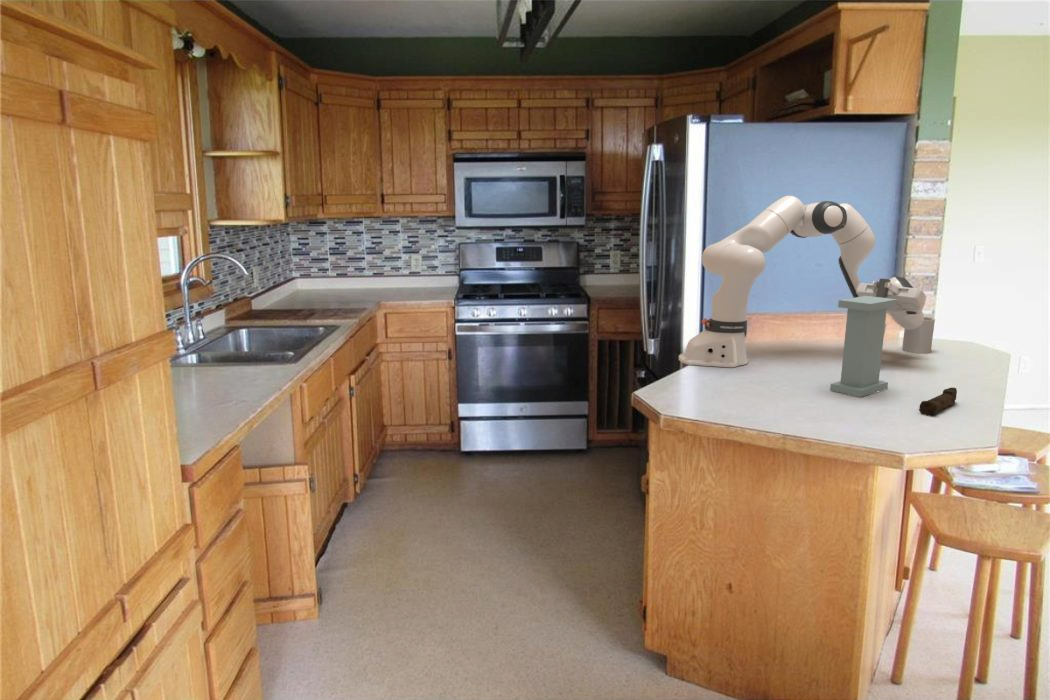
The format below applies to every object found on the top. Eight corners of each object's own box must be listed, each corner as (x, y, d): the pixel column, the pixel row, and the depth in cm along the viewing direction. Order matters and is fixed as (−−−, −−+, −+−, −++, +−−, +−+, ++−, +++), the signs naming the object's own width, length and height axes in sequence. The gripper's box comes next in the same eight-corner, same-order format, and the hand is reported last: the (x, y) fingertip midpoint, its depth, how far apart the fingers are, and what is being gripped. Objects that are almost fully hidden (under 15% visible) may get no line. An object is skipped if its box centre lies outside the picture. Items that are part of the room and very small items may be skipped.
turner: (879, 355, 232) (877, 354, 230) (861, 351, 236) (858, 351, 235) (895, 280, 230) (893, 279, 229) (877, 278, 235) (874, 277, 233)
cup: (904, 352, 259) (908, 319, 256) (899, 347, 267) (903, 315, 265) (933, 354, 256) (937, 320, 253) (927, 349, 264) (931, 316, 262)
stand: (860, 397, 200) (870, 303, 195) (830, 390, 207) (838, 300, 202) (887, 389, 209) (897, 299, 204) (857, 382, 216) (866, 295, 211)
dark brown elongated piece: (934, 418, 183) (936, 400, 182) (918, 414, 186) (920, 396, 185) (965, 405, 195) (967, 388, 194) (949, 402, 198) (951, 385, 197)
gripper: (869, 290, 247) (852, 272, 239) (931, 296, 232) (916, 277, 223) (862, 306, 247) (846, 289, 238) (925, 314, 231) (910, 296, 222)
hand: (880, 283), depth 230 cm, fingers closed on turner, 3 cm apart
